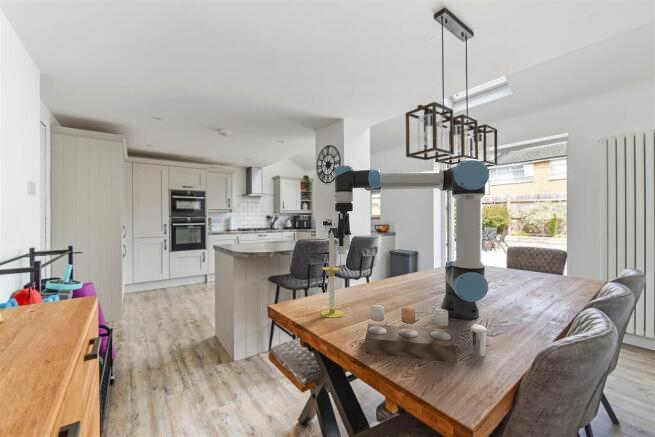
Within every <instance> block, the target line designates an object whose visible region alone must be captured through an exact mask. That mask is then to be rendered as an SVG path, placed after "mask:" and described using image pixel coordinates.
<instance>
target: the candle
mask: <svg viewBox="0 0 655 437" xmlns="http://www.w3.org/2000/svg"><path fill="white" fill-rule="evenodd" d="M328 237H329V238H328V240H329V241H328V242H329V244H328V245H329V247H328V249H329V250H328V251H329V256H328V257H329V266H324V267H322V270H323V271H326V272H328V286H329V287H328V289H329V290H328V296H329V298H328V299H329V301H328V302H329V304H328V305H329V306H328V307H329V308H328V309H325V310H323V311H321V313H320V314H321V316H322V317H323V318H327V319H337V318H341V317H343V316H344V311H342V310H339V309H336V283H335V282H336V279H335V278H336V277H335V275H336V273H335V272H337V271H340V270H342V267H341V266H335V235H334V232H333V230H332V229H330V233H329V235H328Z"/></svg>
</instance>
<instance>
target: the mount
mask: <svg viewBox="0 0 655 437" xmlns="http://www.w3.org/2000/svg"><path fill="white" fill-rule="evenodd" d="M364 342H365V348H364V349H365V352H364V353H365V354H366V355H375V356H385V357H395V358H396V357H397V358H405V359H406V358H407V359H414V360H415V359H416V360H425V361H426V360H427V361H436V362H437V361H438V362H447V363H455V364H457V344H456V342H455V341H454V338H453V336H452V334H451V332H450V330H449V329H444V328H432V327H431V328H430V327H420V326H419V327H418V326H417V327H416V326H415V327H414V326H405V325H393V324H392V325H391V324H389V325H388V324H378V323H368V324H367V328H366V333H365V341H364Z"/></svg>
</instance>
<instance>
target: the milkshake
mask: <svg viewBox="0 0 655 437" xmlns="http://www.w3.org/2000/svg"><path fill="white" fill-rule="evenodd" d="M468 324H469V327H470V334H471V335H470V336H471V346H472V347H471V348H472V354H473V356H475V357H479V358H483V357H485V355H486V354H485V353H486V342H487V334H488V333H487V332H488V329H487V328H486V327H485V326H483V325H481V324H476V323H475V324H473V325H471V323H468Z"/></svg>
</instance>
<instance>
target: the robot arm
mask: <svg viewBox="0 0 655 437" xmlns="http://www.w3.org/2000/svg"><path fill="white" fill-rule="evenodd" d="M489 178H490V171H489V168H488V166H487V165H486V164H485V163H484V162H483V161H480V160H479V159H474V158H469V159H465V160H462V161H460V162H459V163H458V164H456V166H455V165H454V166H452V167H449V168H448V167H446V168H440V169H439V170H437V171H435V170H434V171H412V172H411V171H410V172H409V171H408V172H386V173H385V172H384V173H381V170H380V169H363V170H360V169H359V170H354V168H353V166H351V165H338V166H336V167H335V172H334V190H335V192H334V195H333V197H334V199H335V200H334V201H335V202H336V203H335V204H334V205H335V206H334V210H335V212H339V213H338V216H337V217H338V219H337V220H338V221H337V231H336V235H335V236H336V237H335V238H336V239H337V254H338V255H345V254H346V251H347V250H350V249H351V248H350V247H351V246H350V245H351V244H350V242H351V240H350V239H351V238H350V237H351V235H352V232H351V226H350V213H349V212H353V210H354V209H353V208H354V207H353V206H354V204H353V201H354V195H353V194H354V191H353V189H364V190H365V191H367V192H368V191H369V192H372V191H379V190H380V191H382V190H383V191H384V190H420V189H421V190H426V189H429V190H430V189H431V190H432V189H438V190H439V191H444V192H445V191H447V192H451V196H452V198H454V199H455V201H456V202H455V260H448V261H446V262H445V266H444V269H445V270H444V272H445V277H444V281H445V287H444V292H445V293H444V294H445V295H444V297H443V300H442V302H441V305H440V309H444V310H447V311H448V317H450V318H454V319H461V320H473V319H477V318H478V317H479V316H480V315H479V314H480V311H479V308H478V304H477V302H478V301H480V300H482V299H483V298H485V297H486V296H487V294H488V293H489V292H488V291H489V283H488V281H487V280H488V279H487V278H486V276H485V269H486V268H485V267H486V266H485V264H484V263H483V262H482V261H481V205H482V204H481V200H482V199H483V197H484V196H485V195H486V184H487V183H488V181H489Z"/></svg>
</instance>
